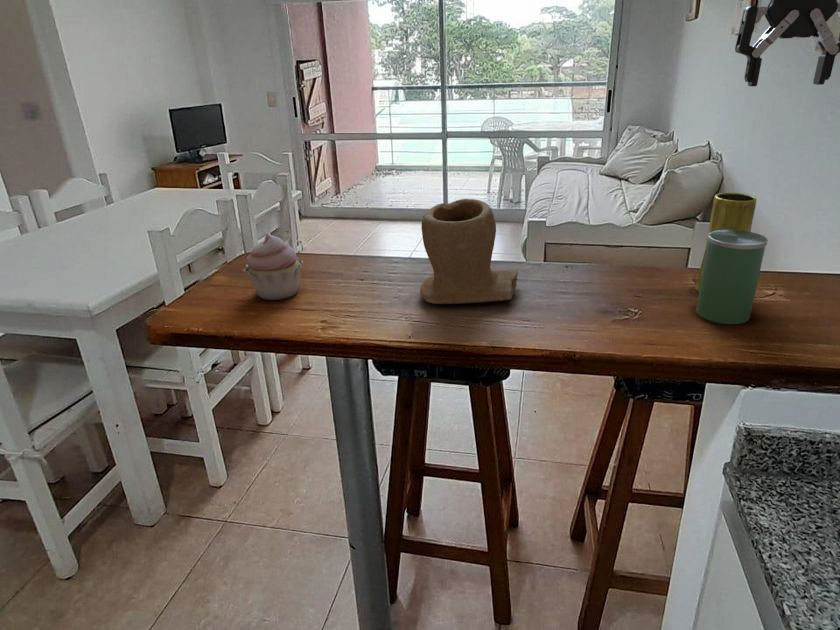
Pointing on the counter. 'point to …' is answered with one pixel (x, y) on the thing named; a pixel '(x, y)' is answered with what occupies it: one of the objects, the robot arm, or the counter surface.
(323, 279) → the counter surface
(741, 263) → the green can
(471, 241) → the stone cup
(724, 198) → the vase
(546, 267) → the counter surface
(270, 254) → the cupcake
